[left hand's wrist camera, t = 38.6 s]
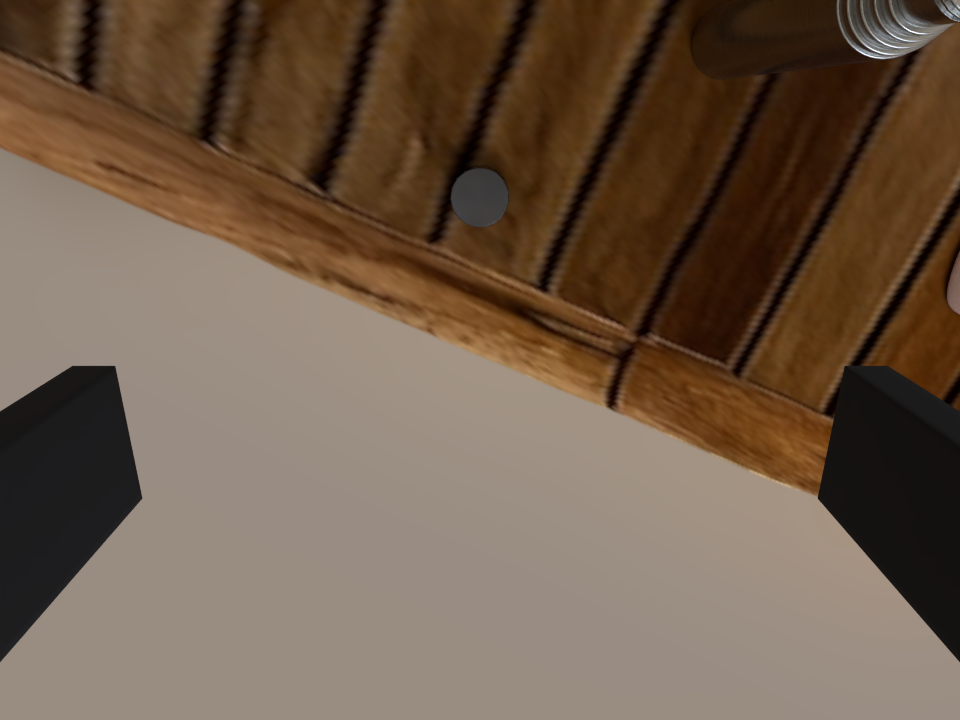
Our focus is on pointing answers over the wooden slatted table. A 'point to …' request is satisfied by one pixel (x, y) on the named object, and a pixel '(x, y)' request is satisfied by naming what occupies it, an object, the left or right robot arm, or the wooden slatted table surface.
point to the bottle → (813, 33)
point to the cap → (479, 196)
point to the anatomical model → (954, 287)
